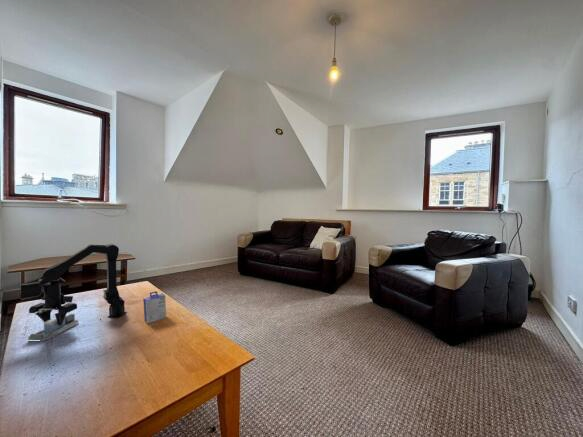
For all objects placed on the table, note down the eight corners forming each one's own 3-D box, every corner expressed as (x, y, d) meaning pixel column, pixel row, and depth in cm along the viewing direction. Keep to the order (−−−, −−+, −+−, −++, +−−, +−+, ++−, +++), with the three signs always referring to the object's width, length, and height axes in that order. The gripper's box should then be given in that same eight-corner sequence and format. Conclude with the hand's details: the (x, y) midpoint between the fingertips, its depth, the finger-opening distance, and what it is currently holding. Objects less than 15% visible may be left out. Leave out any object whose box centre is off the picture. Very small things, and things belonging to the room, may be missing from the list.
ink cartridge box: (163, 314, 138) (162, 289, 137) (167, 317, 134) (166, 291, 133) (143, 320, 131) (142, 293, 130) (146, 324, 127) (145, 296, 126)
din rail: (78, 323, 128) (77, 313, 128) (44, 341, 111) (43, 329, 111) (64, 323, 128) (63, 313, 128) (28, 341, 111) (27, 329, 111)
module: (65, 326, 122) (64, 316, 122) (52, 332, 116) (52, 322, 116) (56, 326, 123) (56, 316, 122) (44, 332, 117) (43, 322, 116)
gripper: (86, 288, 126) (87, 317, 127) (50, 287, 127) (52, 317, 128) (65, 296, 115) (67, 328, 116) (26, 295, 116) (29, 328, 117)
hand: (54, 325), depth 119 cm, fingers open, 6 cm apart
